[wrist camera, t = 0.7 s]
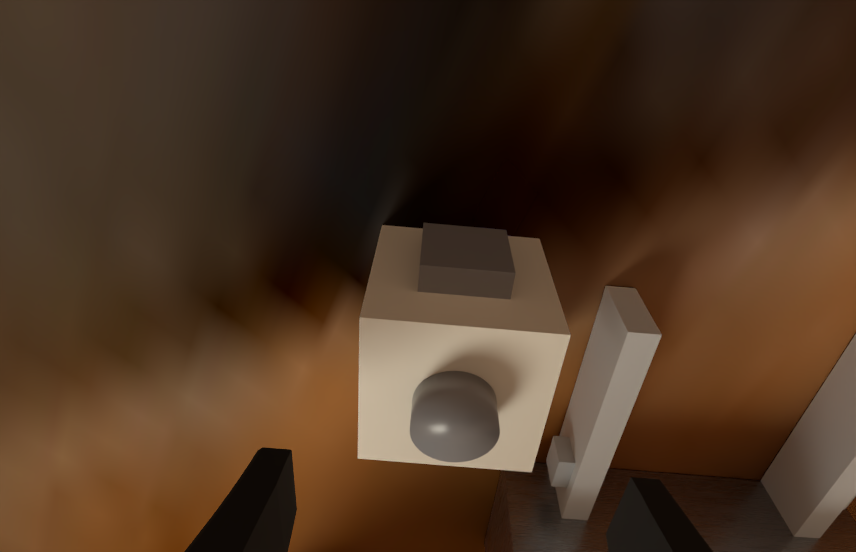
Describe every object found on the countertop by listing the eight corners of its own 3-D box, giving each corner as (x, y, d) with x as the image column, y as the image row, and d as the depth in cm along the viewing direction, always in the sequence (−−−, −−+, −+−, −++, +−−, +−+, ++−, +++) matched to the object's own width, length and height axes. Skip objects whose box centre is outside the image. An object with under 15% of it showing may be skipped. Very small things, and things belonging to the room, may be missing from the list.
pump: (513, 357, 19) (536, 503, 14) (377, 346, 19) (352, 489, 14) (544, 214, 16) (588, 334, 11) (383, 200, 16) (353, 314, 11)
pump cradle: (797, 483, 22) (834, 539, 20) (536, 462, 22) (546, 517, 20) (919, 312, 17) (985, 361, 15) (587, 284, 17) (607, 330, 15)
